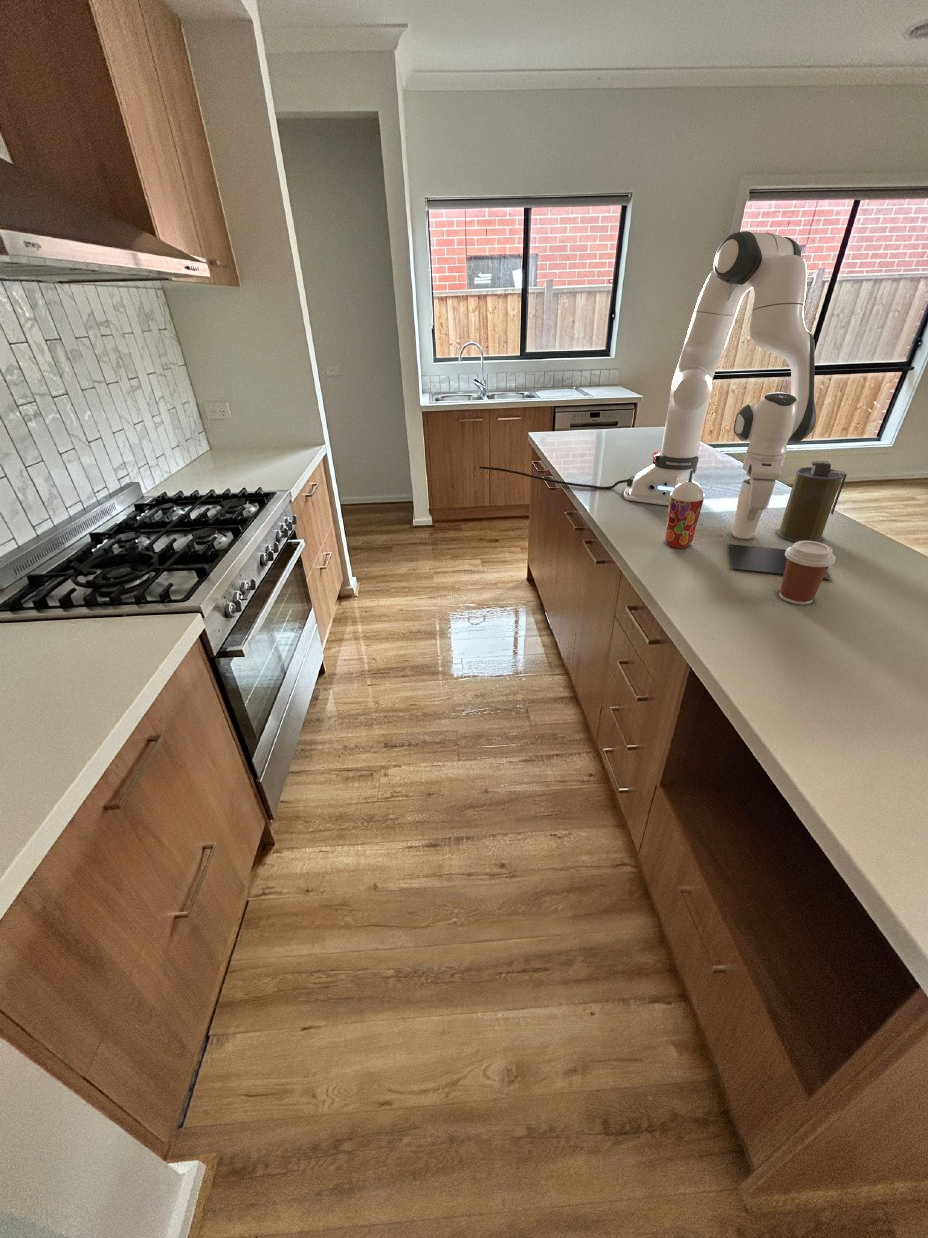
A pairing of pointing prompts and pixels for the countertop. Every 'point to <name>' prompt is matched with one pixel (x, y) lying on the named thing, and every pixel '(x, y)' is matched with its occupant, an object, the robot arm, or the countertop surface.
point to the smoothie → (683, 513)
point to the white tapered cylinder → (744, 515)
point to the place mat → (759, 559)
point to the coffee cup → (805, 570)
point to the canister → (811, 502)
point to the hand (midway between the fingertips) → (749, 514)
